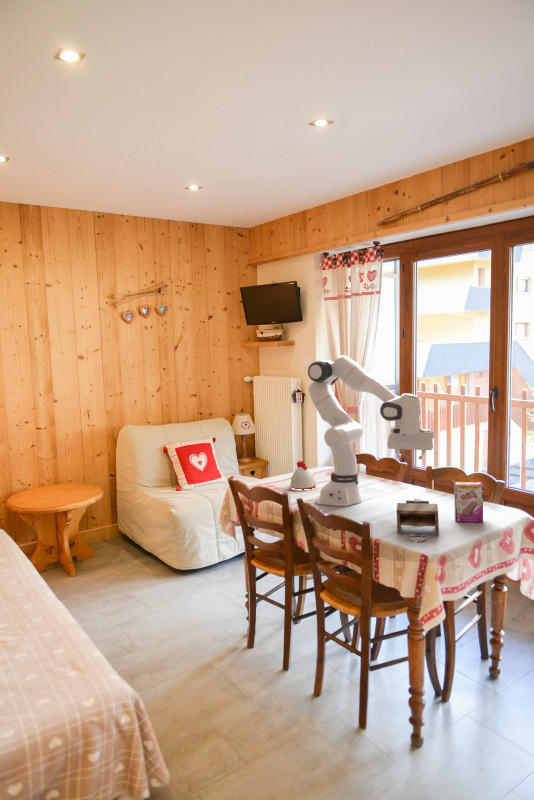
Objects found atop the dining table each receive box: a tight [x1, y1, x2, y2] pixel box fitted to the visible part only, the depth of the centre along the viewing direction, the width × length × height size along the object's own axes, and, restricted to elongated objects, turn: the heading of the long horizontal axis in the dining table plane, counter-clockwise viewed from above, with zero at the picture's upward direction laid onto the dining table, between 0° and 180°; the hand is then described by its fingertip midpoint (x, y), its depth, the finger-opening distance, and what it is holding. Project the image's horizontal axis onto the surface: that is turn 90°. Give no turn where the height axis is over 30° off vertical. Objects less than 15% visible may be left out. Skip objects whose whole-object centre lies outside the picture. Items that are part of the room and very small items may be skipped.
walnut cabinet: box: [396, 502, 440, 537], centre depth 222 cm, size 16×10×10 cm, turn 75°
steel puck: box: [409, 533, 427, 543], centre depth 214 cm, size 6×6×2 cm
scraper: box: [405, 498, 430, 504], centre depth 239 cm, size 10×20×6 cm, turn 164°
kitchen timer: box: [289, 460, 317, 490], centre depth 299 cm, size 14×14×15 cm
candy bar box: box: [453, 481, 484, 524], centre depth 231 cm, size 11×5×16 cm, turn 77°
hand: (409, 458), depth 250 cm, fingers open, 8 cm apart
